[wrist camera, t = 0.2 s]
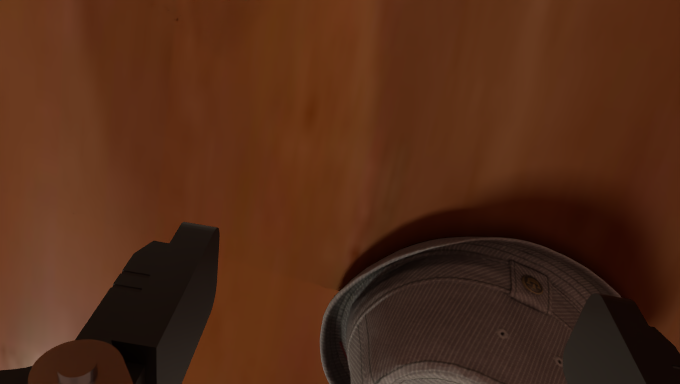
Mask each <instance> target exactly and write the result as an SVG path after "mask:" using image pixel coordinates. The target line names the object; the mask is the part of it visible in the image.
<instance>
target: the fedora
mask: <svg viewBox="0 0 680 384" xmlns="http://www.w3.org/2000/svg"><path fill="white" fill-rule="evenodd" d="M594 293H597V294H603V295H609V296H615V297H621V296H620V295H619V294H618V293H617V292H616V291H615V290H614V289H613V288H612V287H610V286H609V285H608V284H607V283H606V282H605V281H604V280H602V279H601V278H600V277H599V276H597V275H596V274H595V273H593V272H592V271H591V270H589V269H588V268H586V267H585V266H583V265H581V264H580V263H578V262H576V261H574V260H573V259H571V258H569V257H567V256H565V255H563V254H561V253H558V252H556V251H554V250H551V249H549V248H547V247H544V246H542V245H538V244H535V243H532V242H528V241H524V240H519V239H513V238H501V237H451V238H442V239H435V240H430V241H426V242H422V243H418V244H415V245H412V246H409V247H406V248H403V249H401V250H399V251H397V252H395V253H393V254H391V255H389V256H387V257H385V258H383V259H381V260H379V261H378V262H376V263H374V264H372V265H371V266H369V267H367V268H366V269H365V270H363V271H362V272H361V273H359V274H358V275H357V276H356V277H354V278H353V279H352V280H351V281H350V282H349V283H348V284H347V285H346V286H345V287H343V288H342V289H341V290H340V291H339V292H338V293H337V294H336V295H335V296H334V298H333V299H332V300H331V302H330V303H329V306H328V307H327V309H326V311H325V314H324V316H323V321H322V327H321V333H320V352H321V361H322V365H323V369H324V372H325V375H326V377H327V380H328V382H329V384H567V381H566V379H565V376H564V372H563V353H564V349H565V346H566V343H567V341H568V339H569V337H570V335H571V333H572V331H573V328H574V326H575V324H576V322H577V320H578V318H579V316H580V314H581V312H582V309H583V307H584V305H585V303H586V301H587V299H588V298H589V297H590V296H591V295H592V294H594ZM621 298H622V297H621Z"/></svg>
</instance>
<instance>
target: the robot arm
mask: <svg viewBox="0 0 680 384" xmlns="http://www.w3.org/2000/svg"><path fill="white" fill-rule="evenodd" d="M218 253H219V228H217V227H211V226H205V225H199V224H193V223H187V222H183V223H182V224H181V225H180V227H179V229H178V230H177V232H176V234H175V235H174V237H173V239H172V240H171V242H170V243H163V242H158V241H153V242H151V243H149V244H148V245H146V246H145V247H143V248H142V249H140V250H139V251H137V252H135V253H134V254H133V256H132V257H131V259H130V260H129V261H128V263H127V264H126V266H125V267H124V269H123V271H122V274H121V273H120V275H119V276H118V278H117V279H116V281H115V282H114V284H113V287H112V288H110V289H109V291H108V292H107V294H106V295H105V297H104V298H103V300H102V301H101V303H100V304H99V306H98V307H97V309H96V310H95V311H94V313H93V314H92V316H91V317H90V319H89V320H88V322H87V323H86V325H85V326H84V328H83V329H82V331H81V332H80V333H79V335H78V336H77V338H76V339H75V340H74V341H70V342H66V343H63V344H60V345H58V346H56V347H54V348H52V349H50V350H49V351H47V352H46V353H44V354H43V355H42V356H41V357H40V358H39V359H38V360H37V361H36V362H35V363H34V365H33V366H31V367H26V368H20V369H12V370H1V371H0V384H182V381H183V379H184V376H185V374H186V371H187V369H188V367H189V364H190V362H191V359H192V357H193V354H194V352H195V349H196V347H197V345H198V342H199V340H200V337H201V335H202V332H203V330H204V328H205V325H206V323H207V320H208V318H209V315H210V313H211V310H212V306H213V303H214V298H215V293H216V285H217V269H218ZM563 372H564V376H565V379H566V381H567V384H680V354H679V352H678V350H677V349H676V347H675V346H674V345H673V344H672V343H671V342H670V341H669V340H668V339H666V338H665V337H664V336H663V335H662V334H661V333H660V332H659V331H658V330H657V329H656V328H655V327H650V326H648V324H647V322H646V320H645V319H644V317H643V315H642V314H641V312H640V310H639V308H638V307H637V305H636V303H635V302H634V301H633V300H631V299H627V298H621V297H615V296H609V295H603V294H597V293H594V294H592V295H591V296H590V297H589V298H588V299H587V301H586V303H585V305H584V307H583V309H582V312H581V314H580V316H579V318H578V320H577V322H576V324H575V326H574V328H573V331H572V333H571V335H570V337H569V339H568V341H567V343H566V346H565V349H564V353H563Z"/></svg>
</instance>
